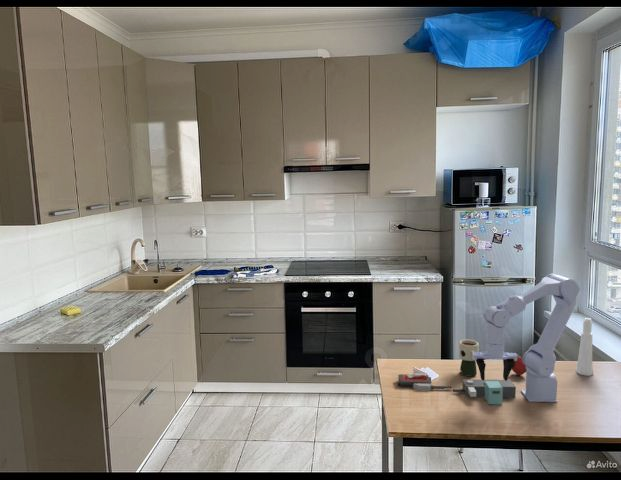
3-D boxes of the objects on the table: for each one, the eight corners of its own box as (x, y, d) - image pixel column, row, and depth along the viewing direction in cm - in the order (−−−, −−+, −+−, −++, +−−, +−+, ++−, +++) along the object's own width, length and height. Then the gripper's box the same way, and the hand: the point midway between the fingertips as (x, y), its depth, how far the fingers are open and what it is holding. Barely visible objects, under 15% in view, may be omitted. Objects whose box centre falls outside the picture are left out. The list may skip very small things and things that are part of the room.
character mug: (454, 368, 188) (455, 337, 186) (472, 367, 188) (473, 337, 186) (463, 380, 178) (464, 348, 176) (482, 379, 178) (483, 347, 176)
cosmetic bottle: (573, 368, 185) (576, 315, 182) (589, 369, 184) (593, 316, 180) (578, 375, 179) (582, 320, 176) (596, 376, 178) (599, 321, 174)
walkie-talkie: (397, 391, 171) (452, 392, 169) (397, 380, 171) (452, 381, 169) (395, 380, 180) (447, 381, 178) (395, 369, 179) (448, 370, 177)
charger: (495, 394, 166) (496, 378, 165) (502, 404, 159) (503, 388, 158) (482, 394, 166) (483, 378, 165) (488, 404, 159) (489, 388, 158)
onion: (512, 371, 184) (513, 351, 183) (528, 374, 181) (529, 354, 180) (509, 376, 180) (509, 356, 179) (525, 380, 176) (526, 360, 175)
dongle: (472, 390, 165) (472, 385, 165) (476, 396, 161) (476, 391, 161) (467, 390, 165) (467, 385, 165) (470, 396, 161) (470, 391, 161)
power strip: (509, 390, 169) (510, 378, 168) (515, 397, 164) (515, 385, 163) (451, 389, 171) (451, 377, 170) (454, 396, 165) (455, 384, 164)
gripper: (512, 337, 161) (511, 374, 164) (470, 337, 163) (469, 374, 165) (520, 345, 154) (518, 383, 157) (475, 345, 156) (474, 383, 158)
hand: (493, 379), depth 160 cm, fingers open, 7 cm apart
